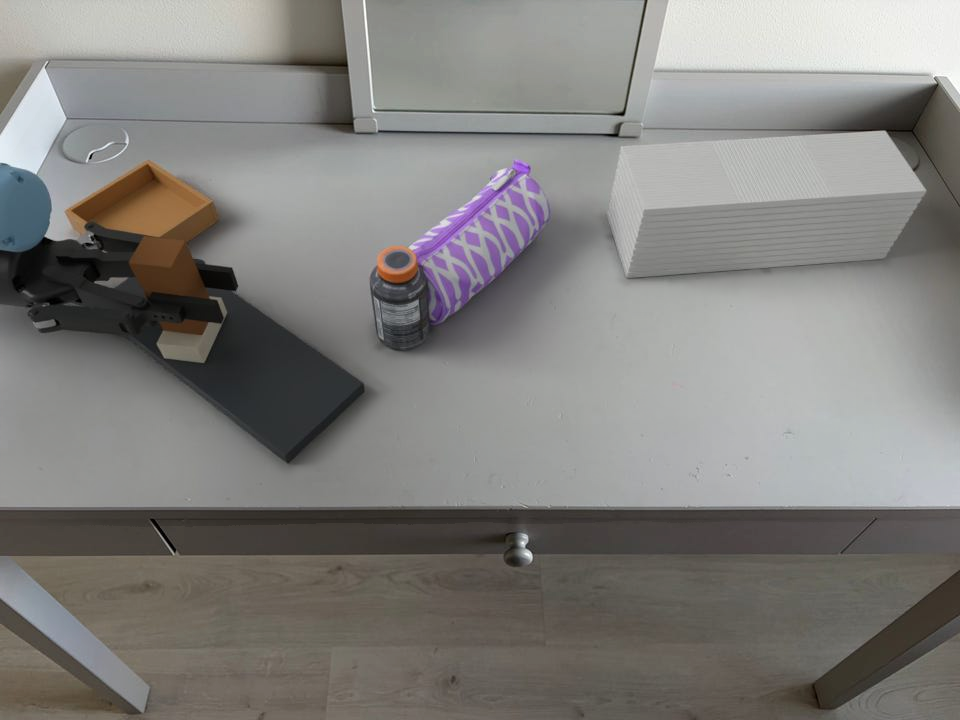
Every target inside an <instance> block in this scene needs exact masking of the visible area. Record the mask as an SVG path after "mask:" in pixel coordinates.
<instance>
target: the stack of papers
mask: <svg viewBox="0 0 960 720" xmlns="http://www.w3.org/2000/svg"><path fill="white" fill-rule="evenodd" d="M616 165H617V166H616V170H615V173H614V174H615V175H614V180H613V184H612V185H613V186H612V188H611V194H610V199H609V204H608V207H607V208H608V209H607V213H606V218H607V221H608V223H609V228H610V230H611V233H612V237H613V241H614V243H615V246H616V249H617V253H618V256H619V260H620V261H621V265H622V269H623V272H624V274H625V275H624V276H625V278H626V279H633V278H647V277H657V276H658V277H660V276H672V275H673V276H675V275H686V274H701V273H702V274H703V273H714V272H715V273H716V272H727V271H739V270H740V271H741V270H753V269H754V270H755V269H766V268H781V267H794V266H795V267H796V266H805V265H807V266H808V265H820V264H821V265H822V264H833V263H834V264H836V263H847V262H848V263H849V262H860V261H861V262H862V261H875V260H884V259H886V257H887V255H888V253H889V252H890V250H891V249H892V248H891V247H893V246H894V244H895V242H896V241H897V239H898V238H899V236H900V234H901V233H902V231H903V229H904V228H905V226H906V223H908V222H909V220H910V217H912V215H913V213H914V212H915V210H916V209H917V208H918V204H920V202H921V201H922V199H923V197H924V196H925V195H926V193H927V189H926V187H925V186H924V185H923V183H922V182H921V180H920V179H919V177H918V176H917V174H916V173H915V171H914V170H913V168H912V167H911V166H910V164H909V163H908V162H907V160H906V158H905V157H904V156H903V154H902V152H901V151H900V149H899V148H898V147H897V145H896V144H895V142H894V141H893V139H892V137H891V136H890V135H889V134H888V132H887V130H872V131H870V130H869V131H855V132H837V133H821V134H805V135H788V136H787V135H786V136H769V137H754V138H753V137H752V138H737V139H736V138H735V139H719V140H718V139H717V140H704V141H687V142H686V141H684V142H668V143H652V144H634V145H621V146H620V149H619V154H618V160H617V164H616Z"/></svg>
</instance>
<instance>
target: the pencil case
mask: <svg viewBox="0 0 960 720" xmlns="http://www.w3.org/2000/svg"><path fill="white" fill-rule="evenodd" d="M531 168H532V167H531V165H529V163H527V162H525V161H524V160H521V159H519V158H513V164H512V166H511V167H510V168H509V167H505V168H502V169H501V168H500V169H498V170H497V171H496V172H495V173H494V174H493V175H491V177H490V178H489V182H488V183H487V184H486V185H485V187H483V188H482V189H480V191H479V192H478V193H477V194H476V195H474V197H472V199H470V200H469V201H468V202H466V203H465V204H464V205H463V206H460V207H459V208H457V209H455V210H454V211H453V212H451V213H450V214H448V216H446V217H444V218H443V219H442V220H441V221H440V222H438V223H436V225H434V226H433V227H432V228H430V229H429V230H427V232H425V233H424V234H423V235H422V236H421V237H420V238H419V239H417V240H416V241H414V242H413V243H412V244H410V246H407V248H409V249H411V250H412V251H413V252H414V253H415V254H416V257H417V263H418V265H420V266H421V267H422V268H423V271H424V273H425V275H426V277H427V279H428V304H429V320H430V325H434V326H435V325H438V324H442V323H444V322H445V320H447V318H449V316H452V315H454V314H455V313H456V312H458V311H460V310H461V309H462V308H463V307H464V306H465V305H466V304H467V303H468V302H470V300H471V299H472V297H474V296H475V295H476V294H477V293H480V291H481V290H483V289H485V288H486V287H487V286H488V285H489V284H490V283H492V281H494V280H495V279H497V277H498V276H499V275H500V274H501V273H502V272H503V271H504V270H505V269H506V268H507V267H508V266H509V264H511V263H512V262H513V261H514V260H515V259H516V258H517V257H518V256H519V255H520V254H521V253H522V252H523V251H524V250H526V248H527V247H528V246H530V244H531V243H532V242H533V241H534V240H535V239H536V238H537V237H538V235H539V234H540V232H541V230H543V229H544V228H545V227H546V226H547V224H548V222H549V220H550V215H551V207H550V202H549V200H548V198H547V196H546V194H545V192H544V190H543V188H542V187H541V185H540V184H539V183H538V182H537V181H536V180H535V179H534V178H533V177H531V176H530V174H531Z"/></svg>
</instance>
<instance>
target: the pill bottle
mask: <svg viewBox="0 0 960 720" xmlns="http://www.w3.org/2000/svg"><path fill="white" fill-rule="evenodd" d="M369 290H370V297H371V303H372V310H373V318H374V327H375V332H376V336H377V338H378V340H379V341H380V343H381V344H382V345H383V346H385V347H387V348H389V349H391V350H395V351H409V350H413V349H415V348H417V347H419V346H421V345H422V344H423V343H425V341H426V340H427V338H428V337H429V334H430V331H431V324H430V320H429V304H428V279H427V277H426V275H425V273H424V271H423V268H422V267H421V266H420V265H418V263H417V257H416V254H415V253H414V252H413V251H412V250H411V249H409V248H408V246H404V245H392V246H389V247H386V248H384V249H383V250H382V251H380V253H379V254H378V256H377V258H376V266H375V267H374V268H373V269H372V271H371V273H370V276H369Z"/></svg>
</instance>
